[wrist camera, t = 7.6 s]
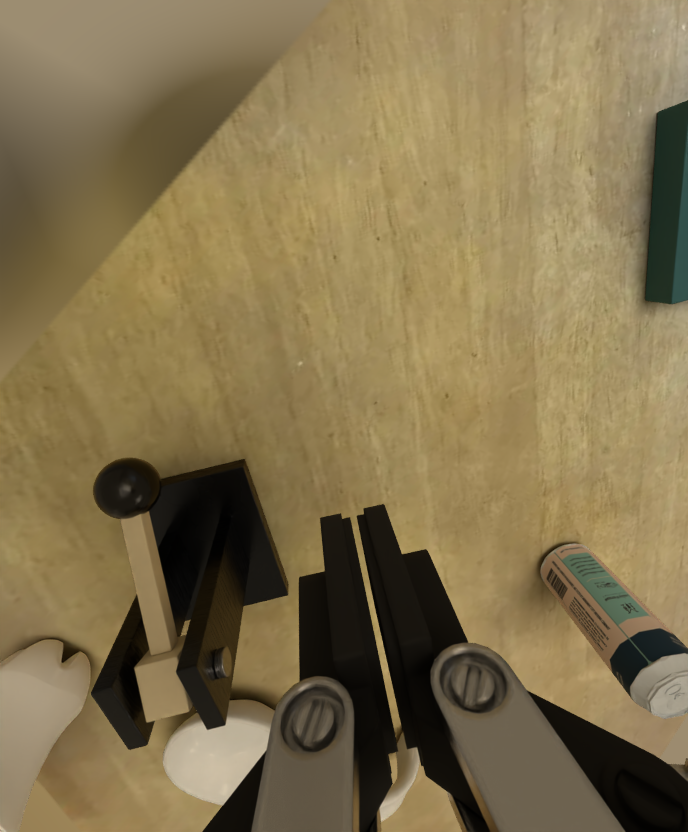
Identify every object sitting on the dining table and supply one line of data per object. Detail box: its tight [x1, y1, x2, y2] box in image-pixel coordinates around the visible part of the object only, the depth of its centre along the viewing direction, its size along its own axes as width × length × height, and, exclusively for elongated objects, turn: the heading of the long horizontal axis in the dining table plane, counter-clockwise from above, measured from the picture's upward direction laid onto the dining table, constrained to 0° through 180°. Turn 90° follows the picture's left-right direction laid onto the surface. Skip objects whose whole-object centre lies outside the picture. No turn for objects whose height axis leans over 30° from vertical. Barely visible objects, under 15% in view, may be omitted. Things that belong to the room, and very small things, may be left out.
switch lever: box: [93, 458, 193, 722], centre depth 22 cm, size 13×3×3 cm, turn 12°
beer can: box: [540, 543, 688, 719], centre depth 31 cm, size 5×5×12 cm
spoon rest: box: [163, 699, 420, 822], centre depth 37 cm, size 24×12×7 cm, turn 75°
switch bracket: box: [91, 459, 288, 750], centre depth 26 cm, size 12×9×13 cm
